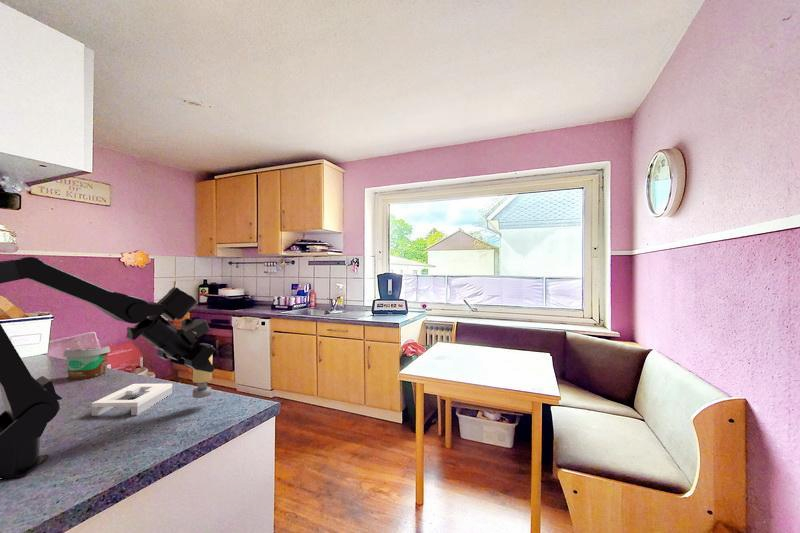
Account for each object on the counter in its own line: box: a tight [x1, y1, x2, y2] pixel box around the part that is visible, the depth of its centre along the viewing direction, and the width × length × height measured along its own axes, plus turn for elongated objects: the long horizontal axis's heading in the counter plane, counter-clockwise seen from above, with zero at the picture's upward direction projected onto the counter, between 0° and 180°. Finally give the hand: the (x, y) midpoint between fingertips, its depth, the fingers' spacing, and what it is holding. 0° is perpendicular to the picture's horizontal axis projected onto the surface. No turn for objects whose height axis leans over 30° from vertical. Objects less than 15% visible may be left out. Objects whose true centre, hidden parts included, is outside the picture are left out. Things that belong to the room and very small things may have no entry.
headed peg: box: [192, 353, 214, 399], centre depth 88 cm, size 4×4×13 cm
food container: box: [63, 345, 111, 381], centre depth 109 cm, size 12×6×10 cm, turn 105°
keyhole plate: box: [91, 383, 173, 417], centre depth 89 cm, size 14×11×3 cm
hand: (208, 369), depth 89 cm, fingers closed on headed peg, 4 cm apart
